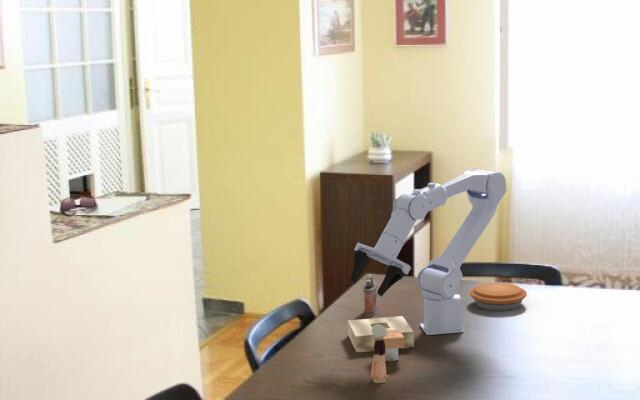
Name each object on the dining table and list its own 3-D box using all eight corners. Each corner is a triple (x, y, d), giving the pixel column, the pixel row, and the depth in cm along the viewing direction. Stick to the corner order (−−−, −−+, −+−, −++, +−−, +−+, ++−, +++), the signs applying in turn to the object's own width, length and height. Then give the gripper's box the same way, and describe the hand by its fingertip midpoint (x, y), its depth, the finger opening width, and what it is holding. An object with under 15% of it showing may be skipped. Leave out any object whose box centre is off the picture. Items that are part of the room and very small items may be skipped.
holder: (402, 331, 227) (402, 316, 226) (414, 347, 215) (413, 331, 215) (348, 335, 225) (347, 320, 225) (356, 352, 214) (356, 336, 213)
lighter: (374, 317, 239) (373, 281, 237) (362, 316, 239) (361, 280, 238) (378, 307, 247) (377, 272, 245) (366, 307, 247) (365, 272, 245)
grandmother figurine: (371, 373, 200) (370, 319, 198) (389, 373, 200) (387, 319, 197) (370, 387, 193) (368, 330, 190) (388, 387, 192) (386, 330, 190)
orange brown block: (399, 353, 212) (398, 329, 210) (404, 362, 206) (404, 337, 205) (377, 355, 211) (376, 331, 210) (381, 364, 206) (380, 339, 205)
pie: (534, 300, 248) (534, 283, 247) (514, 317, 235) (514, 298, 234) (482, 293, 256) (482, 276, 255) (460, 309, 243) (460, 291, 242)
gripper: (362, 221, 215) (335, 271, 212) (414, 244, 207) (386, 295, 205) (371, 232, 221) (344, 280, 218) (422, 254, 213) (395, 304, 211)
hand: (365, 288), depth 212 cm, fingers open, 7 cm apart
